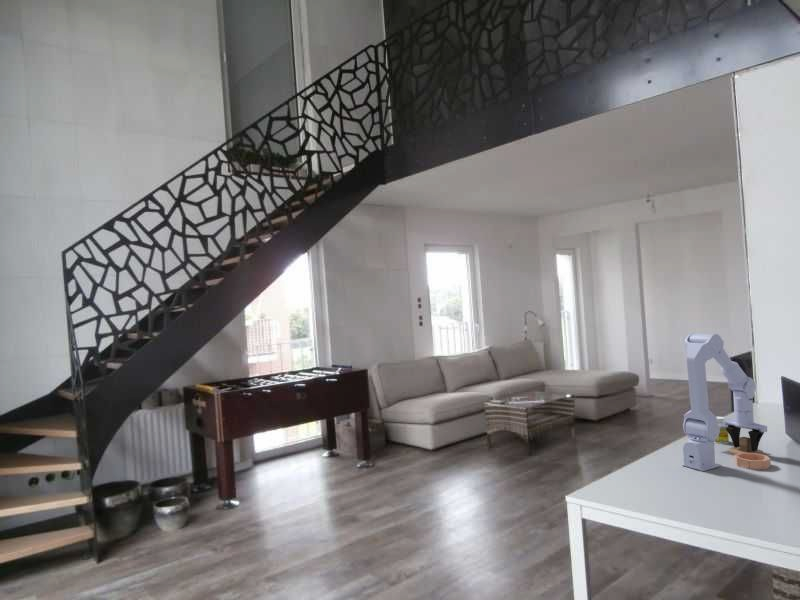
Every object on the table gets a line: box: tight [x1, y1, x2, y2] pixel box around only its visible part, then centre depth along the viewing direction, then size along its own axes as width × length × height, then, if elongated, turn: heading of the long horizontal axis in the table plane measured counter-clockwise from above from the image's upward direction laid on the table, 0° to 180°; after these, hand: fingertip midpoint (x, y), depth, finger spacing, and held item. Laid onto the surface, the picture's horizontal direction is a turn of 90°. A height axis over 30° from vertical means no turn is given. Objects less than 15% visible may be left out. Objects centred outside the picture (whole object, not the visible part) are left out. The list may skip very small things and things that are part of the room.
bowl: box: [733, 453, 772, 471], centre depth 184 cm, size 10×10×3 cm
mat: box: [720, 450, 771, 456], centre depth 197 cm, size 11×11×1 cm
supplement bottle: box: [714, 416, 730, 445], centre depth 213 cm, size 5×5×10 cm
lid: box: [727, 436, 765, 456], centre depth 197 cm, size 11×11×5 cm
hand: (745, 448), depth 197 cm, fingers open, 6 cm apart
